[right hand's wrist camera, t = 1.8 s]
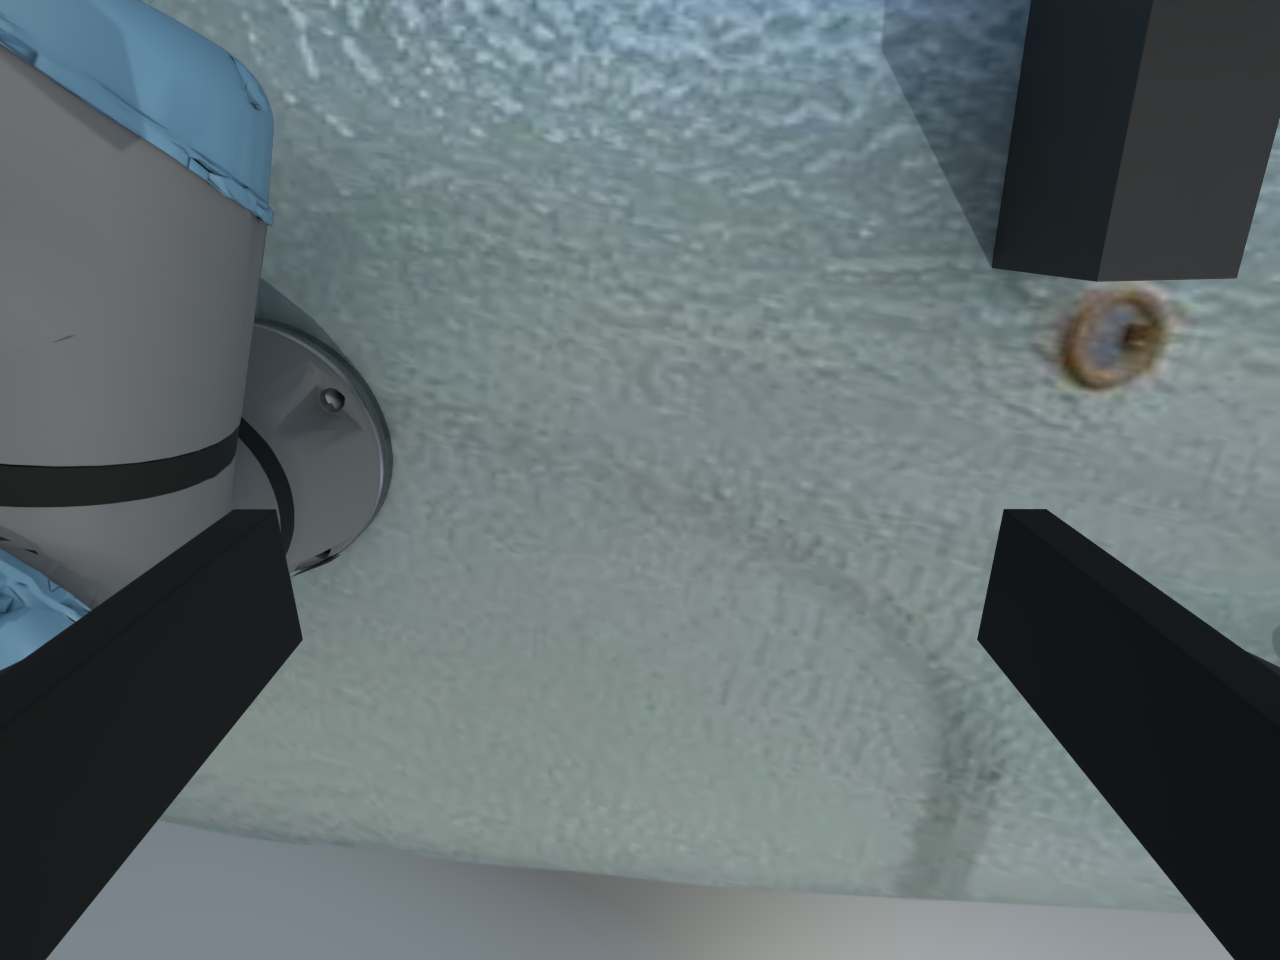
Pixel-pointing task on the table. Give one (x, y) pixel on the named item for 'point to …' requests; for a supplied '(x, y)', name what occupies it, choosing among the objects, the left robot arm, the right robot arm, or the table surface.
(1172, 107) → the box
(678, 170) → the table surface
